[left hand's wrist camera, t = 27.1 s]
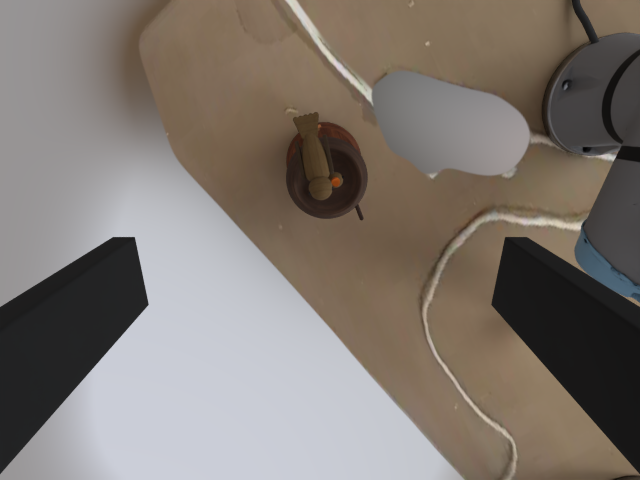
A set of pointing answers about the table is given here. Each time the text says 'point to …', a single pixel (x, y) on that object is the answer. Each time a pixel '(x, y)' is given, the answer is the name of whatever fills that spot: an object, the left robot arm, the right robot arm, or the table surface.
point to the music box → (325, 169)
